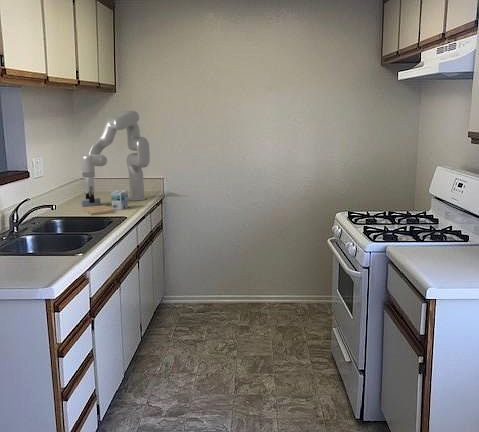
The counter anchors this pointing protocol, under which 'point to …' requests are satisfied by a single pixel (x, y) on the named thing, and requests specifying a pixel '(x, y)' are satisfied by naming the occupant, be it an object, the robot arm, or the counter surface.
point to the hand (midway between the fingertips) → (90, 201)
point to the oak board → (98, 210)
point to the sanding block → (86, 203)
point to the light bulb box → (119, 200)
